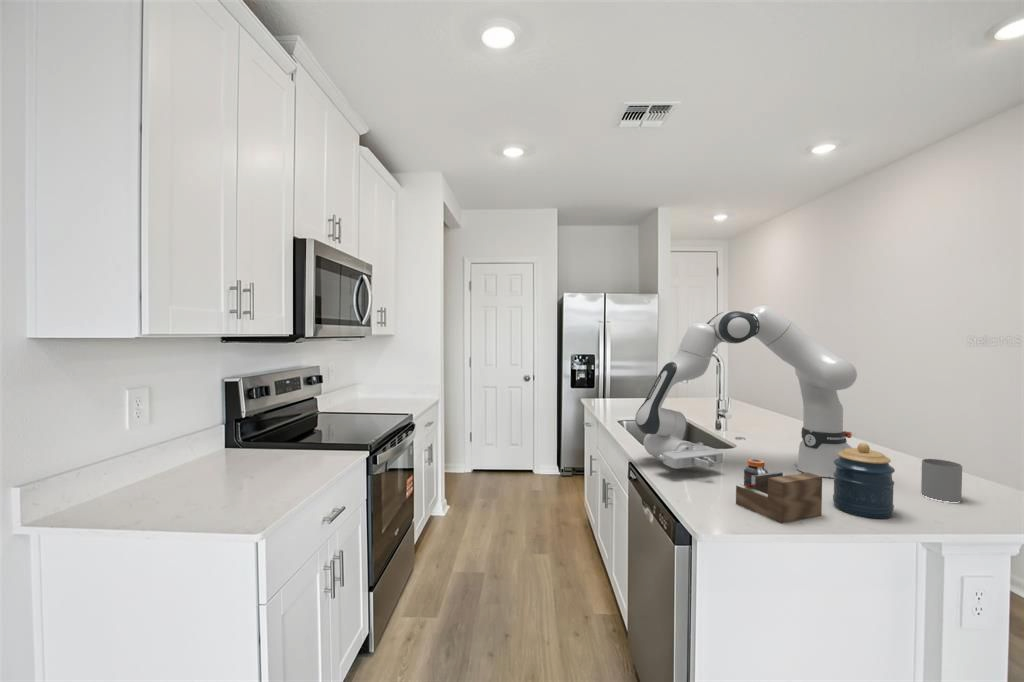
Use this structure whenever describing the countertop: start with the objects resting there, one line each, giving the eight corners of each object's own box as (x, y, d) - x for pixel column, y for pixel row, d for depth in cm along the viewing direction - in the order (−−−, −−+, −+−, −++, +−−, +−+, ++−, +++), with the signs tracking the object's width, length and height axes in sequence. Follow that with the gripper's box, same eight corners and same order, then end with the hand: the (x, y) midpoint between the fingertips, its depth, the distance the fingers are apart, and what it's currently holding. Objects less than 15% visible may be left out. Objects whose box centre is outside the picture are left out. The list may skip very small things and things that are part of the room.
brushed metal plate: (778, 500, 131) (778, 471, 130) (782, 501, 130) (782, 472, 129) (744, 506, 126) (744, 476, 126) (747, 507, 125) (748, 477, 125)
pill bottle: (770, 505, 128) (771, 464, 128) (746, 503, 129) (747, 462, 129) (763, 497, 134) (764, 458, 134) (741, 496, 135) (741, 456, 135)
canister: (897, 523, 116) (899, 452, 116) (833, 512, 123) (835, 445, 123) (889, 506, 127) (891, 441, 127) (831, 497, 134) (832, 435, 134)
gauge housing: (773, 497, 134) (774, 462, 134) (821, 515, 121) (822, 476, 121) (735, 503, 129) (736, 467, 129) (781, 523, 116) (782, 482, 116)
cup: (951, 494, 137) (952, 460, 136) (968, 504, 129) (969, 468, 129) (915, 491, 139) (916, 457, 139) (929, 501, 132) (930, 465, 131)
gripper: (654, 446, 156) (684, 457, 143) (703, 441, 163) (736, 451, 150) (654, 465, 156) (684, 478, 143) (703, 460, 163) (735, 471, 151)
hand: (711, 464), depth 147 cm, fingers closed
